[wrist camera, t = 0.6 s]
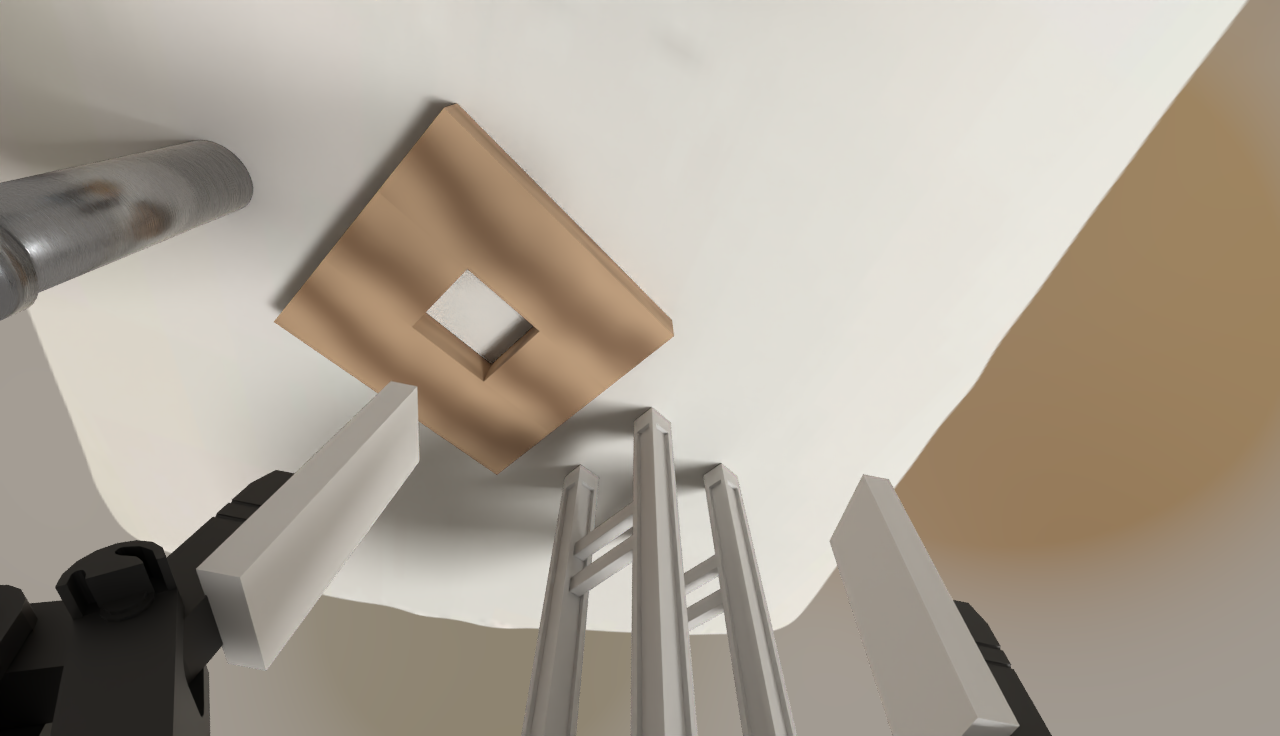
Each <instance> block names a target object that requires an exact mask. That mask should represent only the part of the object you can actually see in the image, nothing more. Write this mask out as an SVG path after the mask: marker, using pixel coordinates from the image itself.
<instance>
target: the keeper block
mask: <svg viewBox="0 0 1280 736" xmlns="http://www.w3.org/2000/svg"><path fill="white" fill-rule="evenodd" d="M467 269H468V270H469V271H470V272H471V273H473V274H474V275H475V276H476V277H477V278H478V279H480V280H481V281H482V282H483V283H484V284H485V285H487V286H488V287H489V288H490V289H491V290H492V291H494V292H495V293H496V294H497V295H498V296H499V297H500V298H502V299H503V300H504V301H505V302H506V303H507V304H509V305H510V306H511V307H512V308H513V309H514V310H516V311H517V312H518V313H519V314H520V315H521V316H522V317H524V318H525V319H526V320H527V321H528V322H529V323H531V324H532V325H533V327H532V328H531V329H530V330H529V331H528V332H527V333H526V334H524V335H523V336H522V337H521V338H520V339H519V340H518V341H517V342H516V343H515V344H513V345H512V346H511V347H510V348H509V349H508V350H507V351H506V352H505V353H504V354H502V355H501V356H500V357H499V358H498V359H497V360H496V361H495V362H494V363H493V364H492V365H491V364H490V363H489V362H488V361H486V360H485V359H484V358H483V357H481V356H480V355H479V354H478V353H476V352H475V351H474V350H472V349H471V348H470V347H469V346H467V345H466V344H465V343H464V342H462V341H461V340H460V339H459V338H457V337H456V336H455V335H453V334H452V333H451V332H450V331H448V330H447V329H446V328H445V327H443V326H442V325H441V324H440V323H438V322H437V321H436V320H434V319H433V318H432V317H431V316H429V315H428V314H427V313H426V311H427V310H428V309H429V308H430V307H431V306H432V305H433V304H434V303H435V302H436V301H437V300H438V299H439V298H440V297H441V296H442V295H443V294H444V293H445V292H446V290H447V289H448V288H449V287H450V286H451V285H452V284H453V283H454V282H455V281H456V280H457V279H458V278H459V277H460V276H461V275H462V274H463V273H464V272H465V271H466V270H467ZM274 322H275V323H276V324H278V325H279V326H281V327H282V328H284V329H285V330H287V331H288V332H289V333H291V334H292V335H294V336H295V337H297V338H298V339H300V340H301V341H303V342H304V343H305V344H307V345H308V346H310V347H311V348H313V349H314V350H316V351H317V352H319V353H320V354H321V355H323V356H324V357H326V358H327V359H329V360H330V361H332V362H333V363H335V364H336V365H338V366H339V367H340V368H342V369H343V370H345V371H346V372H348V373H349V374H351V375H352V376H354V377H355V378H356V379H358V380H359V381H361V382H362V383H364V384H365V385H367V386H368V387H370V388H371V389H372V390H374V391H375V392H377V393H379V392H380V391H381V390H382V389H383V388H384V387H385V386H386V385H387V384H389V383H390V382H391V381H392V382H397V383H402V384H408V385H413V386H417V394H418V421H419V422H421V423H422V424H423V425H425V426H426V427H428V428H429V429H431V430H432V431H434V432H435V433H437V434H438V435H440V436H441V437H442V438H444V439H445V440H447V441H448V442H450V443H451V444H453V445H454V446H456V447H457V448H458V449H460V450H461V451H463V452H464V453H466V454H467V455H469V456H470V457H472V458H473V459H474V460H476V461H477V462H479V463H480V464H482V465H483V466H485V467H486V468H488V469H489V470H491V471H492V472H493V473H495V474H496V475H497V474H499V473H500V472H501V471H503V470H504V469H505V468H506V467H508V466H509V465H510V464H512V463H513V462H514V461H515V460H517V459H518V458H519V457H520V456H522V455H523V454H524V453H526V452H527V451H528V450H529V449H531V448H532V447H533V446H534V445H536V444H537V443H538V442H540V441H541V440H542V439H543V438H545V437H546V436H547V435H548V434H550V433H551V432H552V431H554V430H555V429H556V428H557V427H559V426H560V425H561V424H563V423H564V422H565V421H566V420H568V419H569V418H570V417H571V416H573V415H574V414H575V413H577V412H578V411H579V410H580V409H582V408H583V407H584V406H585V405H587V404H588V403H589V402H591V401H592V400H593V399H594V398H596V397H597V396H598V395H600V394H601V393H602V392H603V391H605V390H606V389H607V388H608V387H610V386H611V385H612V384H614V383H615V382H616V381H617V380H619V379H620V378H621V377H622V376H624V375H625V374H626V373H628V372H629V371H630V370H631V369H633V368H634V367H635V366H636V365H638V364H639V363H640V362H642V361H643V360H644V359H645V358H647V357H648V356H649V355H651V354H652V353H653V352H654V351H656V350H657V349H658V348H659V347H661V346H662V345H663V344H665V343H666V342H667V341H668V340H670V339H671V338H672V337H673V336H674V333H673V325H672V320H671V319H670V318H669V317H668V316H667V315H666V314H665V313H664V312H663V311H662V310H661V309H660V308H659V307H658V306H657V305H656V304H655V303H654V302H653V301H652V300H651V299H650V298H649V297H648V296H647V295H646V294H645V293H644V292H643V291H642V290H641V289H640V288H639V287H638V286H637V285H636V284H635V282H634V281H633V280H632V279H631V278H630V277H629V276H628V275H627V274H626V273H625V272H624V271H623V270H622V269H621V268H620V267H619V266H618V265H617V264H616V263H615V262H614V261H613V260H612V259H611V258H610V257H609V256H608V255H607V254H606V253H605V252H604V251H603V250H602V249H601V248H600V247H599V246H598V245H597V244H596V243H595V242H594V241H593V240H592V239H591V238H590V237H589V236H588V235H587V234H586V233H585V232H584V231H583V230H582V229H581V228H580V227H579V226H578V225H577V224H576V223H575V222H574V221H573V220H572V219H571V218H570V217H569V216H568V215H567V214H566V213H565V212H564V211H563V210H562V209H561V208H560V207H559V206H558V205H557V204H556V203H555V202H554V201H553V200H552V199H551V198H550V197H549V196H548V195H547V194H546V193H545V192H544V191H543V190H542V189H541V188H540V187H539V186H538V185H537V183H536V182H535V181H534V180H533V179H532V178H531V177H530V176H529V175H528V174H527V173H526V172H525V171H524V170H523V169H522V168H521V167H520V166H519V165H518V164H517V163H516V162H515V161H514V160H513V159H512V158H511V157H510V156H509V155H508V154H507V153H506V152H505V151H504V150H503V149H502V148H501V147H500V146H499V145H498V144H497V143H496V142H495V141H494V140H493V139H492V138H491V137H490V136H489V135H488V134H487V133H486V132H485V131H484V130H483V129H482V128H481V127H480V126H479V125H478V124H477V123H476V122H475V121H474V120H473V119H472V118H471V117H470V116H469V115H468V114H467V113H466V112H465V111H464V110H463V109H462V108H461V107H460V106H459V105H458V104H454V105H451V106H447V107H444V108H443V110H442V111H441V112H440V113H439V115H438V116H437V117H436V118H435V120H434V121H433V122H432V123H431V125H430V126H429V127H428V128H427V130H426V131H425V132H424V133H423V135H422V136H421V137H420V139H419V140H418V141H417V142H416V144H415V145H414V146H413V147H412V149H411V150H410V151H409V152H408V154H407V155H406V156H405V157H404V159H403V160H402V161H401V162H400V164H399V165H398V166H397V167H396V169H395V170H394V171H393V173H392V174H391V175H390V176H389V178H388V179H387V180H386V181H385V183H384V184H383V185H382V186H381V188H380V189H379V190H378V191H377V193H376V194H375V195H374V196H373V198H372V199H371V200H370V201H369V203H368V204H367V205H366V207H365V208H364V209H363V210H362V212H361V213H360V214H359V215H358V217H357V218H356V219H355V220H354V222H353V223H352V224H351V225H350V227H349V228H348V229H347V230H346V232H345V233H344V234H343V236H342V237H341V238H340V239H339V241H338V242H337V243H336V244H335V246H334V247H333V248H332V249H331V251H330V252H329V253H328V254H327V256H326V257H325V258H324V259H323V261H322V262H321V263H320V264H319V266H318V267H317V268H316V270H315V271H314V272H313V273H312V275H311V276H310V277H309V278H308V280H307V281H306V282H305V283H304V285H303V286H302V287H301V288H300V290H299V291H298V292H297V293H296V295H295V296H294V297H293V298H292V300H291V301H290V302H289V304H288V305H287V306H286V307H285V309H284V310H283V311H282V312H281V314H280V315H279V316H278V317H277V319H276V320H275V321H274Z"/></svg>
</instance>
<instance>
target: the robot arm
mask: <svg viewBox="0 0 1280 736" xmlns="http://www.w3.org/2000/svg"><path fill="white" fill-rule="evenodd" d="M418 463H419V427H418V394H417V386H413V385H408V384H402V383H397V382H392V381H391V382H390V383H389V384H387V385H386V386H385V387H384V388H383V389H382V390H381V391H380V392H379V393H378V394H377V395H376V396H375V397H374V398H373V399H372V400H371V401H370V402H369V403H368V404H367V405H366V406H365V407H364V408H363V409H362V410H360V411H359V412H358V413H357V414H356V415H355V416H354V417H353V418H352V419H351V420H350V421H349V422H348V423H347V424H346V425H345V426H344V427H343V428H342V429H341V430H340V431H339V432H338V433H337V434H336V435H334V436H333V437H332V438H331V439H330V440H329V441H328V442H327V443H326V444H325V445H324V446H323V447H322V448H321V449H320V450H319V451H318V452H317V453H316V454H315V455H314V456H313V457H312V458H311V459H310V460H309V461H307V462H306V463H305V464H304V465H303V466H302V467H301V468H300V469H299V470H298V471H297V472H296V473H295V474H294V473H289V472H284V471H278V470H275V471H273V472H271V473H269V474H267V475H265V476H263V477H262V478H260V479H258V480H256V481H254V482H252V483H250V484H249V485H248V486H247V487H246V488H245V489H244V490H242V491H241V492H240V493H239V494H238V495H237V496H236V497H235V498H233V499H232V502H231V503H228V504H227V505H226V506H224V507H223V508H222V509H221V510H220V511H219V512H218V513H217V515H216V517H212V518H211V519H210V520H209V521H208V522H206V523H205V524H204V525H203V526H202V527H201V528H200V529H198V530H197V531H196V532H195V533H194V534H193V535H192V536H191V537H189V538H188V539H187V540H186V541H185V542H184V543H183V544H182V545H180V546H179V547H178V548H177V549H176V550H175V551H174V552H173V553H171V554H170V555H169V556H168V557H167V558H166V555H165V553H164V550H163V547H161V546H159V545H157V544H155V543H154V542H149V541H138V540H136V541H130V542H123V543H117V544H114V545H111V546H108V547H105V548H102V549H100V550H97V551H95V552H93V553H91V554H89V555H88V556H86V557H84V558H82V559H80V560H79V561H77V562H76V563H75V564H73V565H72V566H71V567H70V568H69V569H68V570H67V571H65V572H64V573H63V574H62V576H61V578H60V579H59V581H58V583H57V585H56V590H57V591H58V593H59V595H60V597H61V599H62V601H52V602H41V603H31V604H29V602H28V601H27V599H26V597H25V595H24V594H23V592H22V590H21V589H19V588H16V587H13V586H9V585H0V736H210V704H209V672H208V669H207V666H206V664H207V663H208V662H209V660H210V659H211V658H212V657H213V656H214V655H215V653H216V652H217V651H218V650H219V649H220V647H221V646H222V648H223V651H224V654H225V657H226V660H227V663H228V664H233V665H238V666H243V667H249V668H254V669H260V670H265V671H266V670H267V669H268V668H269V666H270V665H271V663H272V662H273V661H274V659H275V658H276V657H277V655H278V654H279V653H280V651H281V650H282V648H283V647H284V646H285V644H286V643H287V642H288V640H289V639H290V637H291V636H292V635H293V633H294V632H295V631H296V629H297V628H298V627H299V625H300V624H301V622H302V621H303V620H304V618H305V617H306V616H307V614H308V613H309V612H310V610H311V609H312V607H313V606H314V605H315V603H316V602H317V601H318V599H319V598H320V596H321V595H322V594H323V592H324V591H325V590H326V588H327V587H328V586H329V584H330V583H331V581H332V580H333V579H334V577H335V576H336V575H337V573H338V572H339V571H340V569H341V568H342V566H343V565H344V564H345V562H346V561H347V560H348V558H349V557H350V556H351V554H352V553H353V551H354V550H355V549H356V547H357V546H358V545H359V543H360V542H361V540H362V539H363V538H364V536H365V535H366V534H367V532H368V531H369V530H370V528H371V527H372V525H373V524H374V523H375V521H376V520H377V519H378V517H379V516H380V515H381V513H382V512H383V510H384V509H385V508H386V506H387V505H388V504H389V502H390V501H391V499H392V498H393V497H394V495H395V494H396V493H397V491H398V490H399V489H400V487H401V486H402V484H403V483H404V482H405V480H406V479H407V478H408V476H409V475H410V474H411V472H412V471H413V469H414V468H415V467H416V465H417V464H418ZM830 544H831V547H832V550H833V553H834V556H835V559H836V562H837V566H838V569H839V571H840V575H841V578H842V581H843V584H844V587H845V590H846V593H847V596H848V599H849V602H850V606H851V609H852V612H853V615H854V618H855V621H856V624H857V627H858V630H859V633H860V636H861V639H862V643H863V646H864V649H865V652H866V655H867V658H868V661H869V664H870V667H871V670H872V674H873V677H874V680H875V683H876V686H877V689H878V692H879V695H880V698H881V701H882V704H883V707H884V710H885V714H886V717H887V720H888V723H889V726H890V729H891V732H892V735H893V736H1052V735H1051V734H1050V732H1049V730H1048V728H1047V727H1046V725H1045V723H1044V721H1043V720H1042V718H1041V716H1040V714H1039V713H1038V711H1037V709H1036V707H1035V706H1034V704H1033V702H1032V700H1031V699H1030V697H1029V695H1028V693H1027V692H1026V690H1025V688H1024V686H1023V685H1022V683H1021V681H1020V680H1019V678H1018V676H1017V674H1016V673H1015V671H1014V669H1011V664H1010V662H1009V660H1008V659H1007V657H1006V655H1005V653H1004V652H1003V651H1002V650H1000V645H999V643H998V641H997V640H996V638H995V636H994V634H993V632H992V631H991V629H990V627H989V626H988V624H987V623H986V622H985V621H984V619H983V618H982V617H981V616H980V615H979V614H978V613H977V612H976V611H975V610H974V609H973V608H972V607H971V606H970V604H969V603H966V602H961V601H956V600H953V599H952V597H951V596H950V594H949V592H948V590H947V588H946V586H945V584H944V582H943V581H942V579H941V577H940V575H939V573H938V571H937V570H936V567H935V566H934V564H933V562H932V560H931V558H930V556H929V554H928V552H927V550H926V549H925V547H924V545H923V543H922V541H921V539H920V537H919V535H918V533H917V532H916V530H915V528H914V526H913V524H912V522H911V520H910V519H909V517H908V515H907V513H906V511H905V509H904V507H903V505H902V503H901V501H900V500H899V498H898V496H897V494H896V492H895V490H894V488H893V486H892V485H891V483H890V481H889V479H884V478H879V477H874V476H869V475H864V474H863V476H862V478H861V480H860V482H859V484H858V486H857V488H856V490H855V492H854V494H853V496H852V498H851V500H850V502H849V504H848V506H847V508H846V510H845V512H844V513H843V515H842V517H841V519H840V521H839V523H838V525H837V527H836V529H835V531H834V533H833V535H832V537H831V539H830Z"/></svg>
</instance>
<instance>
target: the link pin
mask: <svg viewBox="0 0 1280 736" xmlns="http://www.w3.org/2000/svg"><path fill="white" fill-rule="evenodd" d="M252 193H253V186H252V181H251V178H250V175H249V173H248V171H247V169H246V168H245V166H244V165H243V163H242V162H241V161H240V160H239V159H238V158H237V157H236V156H235V155H234V154H233V153H232V152H231V151H229V150H228V149H226V148H225V147H223V146H221V145H219V144H217V143H214V142H211V141H205V140H197V141H191V142H187V143H182V144H178V145H173V146H168V147H164V148H159V149H155V150H150V151H145V152H141V153H136V154H131V155H127V156H122V157H118V158H113V159H108V160H104V161H99V162H95V163H90V164H85V165H81V166H76V167H72V168H67V169H62V170H58V171H53V172H48V173H44V174H39V175H35V176H30V177H25V178H21V179H16V180H12V181H7V182H2V183H0V320H3V319H5V318H7V317H9V316H12V315H14V314H17V313H19V312H21V311H23V310H25V309H27V308H29V307H30V306H31V305H32V304H33V303H34V302H35V300H36V298H37V295H38V293H39V292H41V291H44V290H46V289H49V288H51V287H53V286H56V285H58V284H61V283H63V282H66V281H68V280H70V279H73V278H75V277H78V276H80V275H82V274H85V273H87V272H90V271H92V270H95V269H97V268H99V267H102V266H104V265H107V264H109V263H111V262H114V261H116V260H119V259H121V258H124V257H126V256H128V255H131V254H133V253H136V252H138V251H140V250H143V249H145V248H148V247H150V246H153V245H155V244H157V243H160V242H162V241H165V240H167V239H169V238H172V237H174V236H177V235H179V234H182V233H184V232H186V231H189V230H191V229H194V228H196V227H198V226H201V225H203V224H206V223H208V222H211V221H213V220H215V219H218V218H220V217H223V216H225V215H227V214H230V213H232V212H235V211H237V210H240V209H242V208H244V207H245V206H246V205H247V204H248V203H249V202H250V200H251V198H252Z"/></svg>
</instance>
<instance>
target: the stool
mask: <svg viewBox="0 0 1280 736" xmlns="http://www.w3.org/2000/svg"><path fill="white" fill-rule="evenodd" d="M703 477H704V483H705V490H706V497H707V503H708V510H709V516H710V523H711V529H712V536H713V543H714V549H715V555H714V556H712V557H710V558H709V559H707V560H705V561H704V562H702V563H700V564H699V565H697V566H696V567H694V568H692V569H691V570H689V571H687V572H686V573H684V571H683V559H682V548H681V536H680V525H679V513H678V502H677V490H676V479H675V467H674V456H673V444H672V433H671V422H670V421H668V420H667V419H666V418H665V417H663V416H662V415H661V414H660V413H659V412H657V411H656V410H655V409H654V408H650V409H649V410H648V411H647V412H645V413H644V414H643V415H642V416H640V417H639V418H638V419H636V420H635V421H634V459H633V502H632V503H630V504H629V505H627V506H626V507H625V508H623V509H622V510H620V511H619V512H618V513H616V514H615V515H613V516H612V517H611V518H609V519H608V520H607V521H605V522H604V523H602V524H601V525H600V526H598V527H597V528H595V517H596V506H597V495H598V484H599V477H597V476H596V475H595V474H593V473H592V472H590V471H589V470H587V469H586V468H585V467H583V466H582V465H579V466H578V467H577V468H576V469H574V470H573V471H572V472H571V473H569V474H568V475H567V476H566V477H565V479H564V485H563V491H562V497H561V503H560V509H559V515H558V521H557V527H556V533H555V539H554V545H553V551H552V556H551V562H550V568H549V574H548V580H547V586H546V592H545V598H544V604H543V610H542V616H541V622H540V628H539V635H538V640H537V646H536V652H535V657H534V664H533V669H532V675H531V681H530V687H529V693H528V700H527V705H526V711H525V717H524V723H523V729H522V735H521V736H576V729H577V718H578V707H579V696H580V685H581V673H582V663H583V651H584V640H585V629H586V618H587V607H588V595H589V590H591V589H592V588H594V587H595V586H597V585H598V584H600V583H601V582H603V581H604V580H606V579H607V578H609V577H610V576H612V575H614V574H615V573H617V572H618V571H620V570H621V569H623V568H624V567H626V566H627V565H629V564H630V563H632V654H631V655H632V656H631V657H632V658H631V736H698V733H697V721H696V710H695V698H694V686H693V676H692V675H693V674H692V663H691V651H690V640H689V631H691V630H693V629H694V628H696V627H698V626H700V625H702V624H703V623H705V622H707V621H709V620H711V619H712V618H714V617H716V616H718V615H720V614H722V613H723V612H724V615H725V621H726V628H727V635H728V641H729V648H730V654H731V661H732V667H733V674H734V680H735V687H736V694H737V699H738V707H739V713H740V720H741V727H742V733H743V736H797V733H796V728H795V724H794V720H793V716H792V711H791V707H790V703H789V699H788V694H787V689H786V686H785V681H784V676H783V672H782V668H781V663H780V659H779V655H778V650H777V646H776V642H775V638H774V634H773V629H772V624H771V620H770V616H769V611H768V607H767V603H766V598H765V594H764V590H763V585H762V581H761V577H760V572H759V568H758V564H757V559H756V555H755V551H754V546H753V542H752V538H751V533H750V529H749V525H748V520H747V516H746V512H745V507H744V503H743V499H742V494H741V490H740V486H739V481H738V477H737V476H736V475H735V474H734V473H733V472H732V471H730V470H729V469H728V468H727V467H725V466H724V465H723V464H722V463H721V464H719V465H718V466H716V467H715V468H714V469H712V470H711V471H709V472H708V473H706V474H705V475H703ZM631 527H633V535H632V536H631V537H629V538H628V539H626V540H625V541H623V542H622V543H620V544H619V545H617V546H616V547H615V548H613V549H612V550H610V551H609V552H607V553H606V554H604V555H603V556H601V557H600V558H598V559H597V560H596V561H594V562H593V563H591V562H592V554H594V553H595V552H597V551H598V550H599V549H601V548H602V547H604V546H605V545H607V544H608V543H610V542H611V541H612V540H614V539H615V538H617V537H618V536H620V535H621V534H623V533H624V532H625V531H627V530H628V529H630V528H631ZM594 528H595V529H594ZM718 576H719V582H720V589H719V590H718V591H716V592H714V593H712V594H711V595H709V596H707V597H705V598H704V599H702V600H700V601H698V602H697V603H695V604H693V605H691V606H690V607H688V608H687V605H686V595H687V594H689V593H690V592H692V591H694V590H696V589H697V588H699V587H701V586H702V585H704V584H706V583H707V582H709V581H711V580H713V579H714V578H716V577H718Z"/></svg>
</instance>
